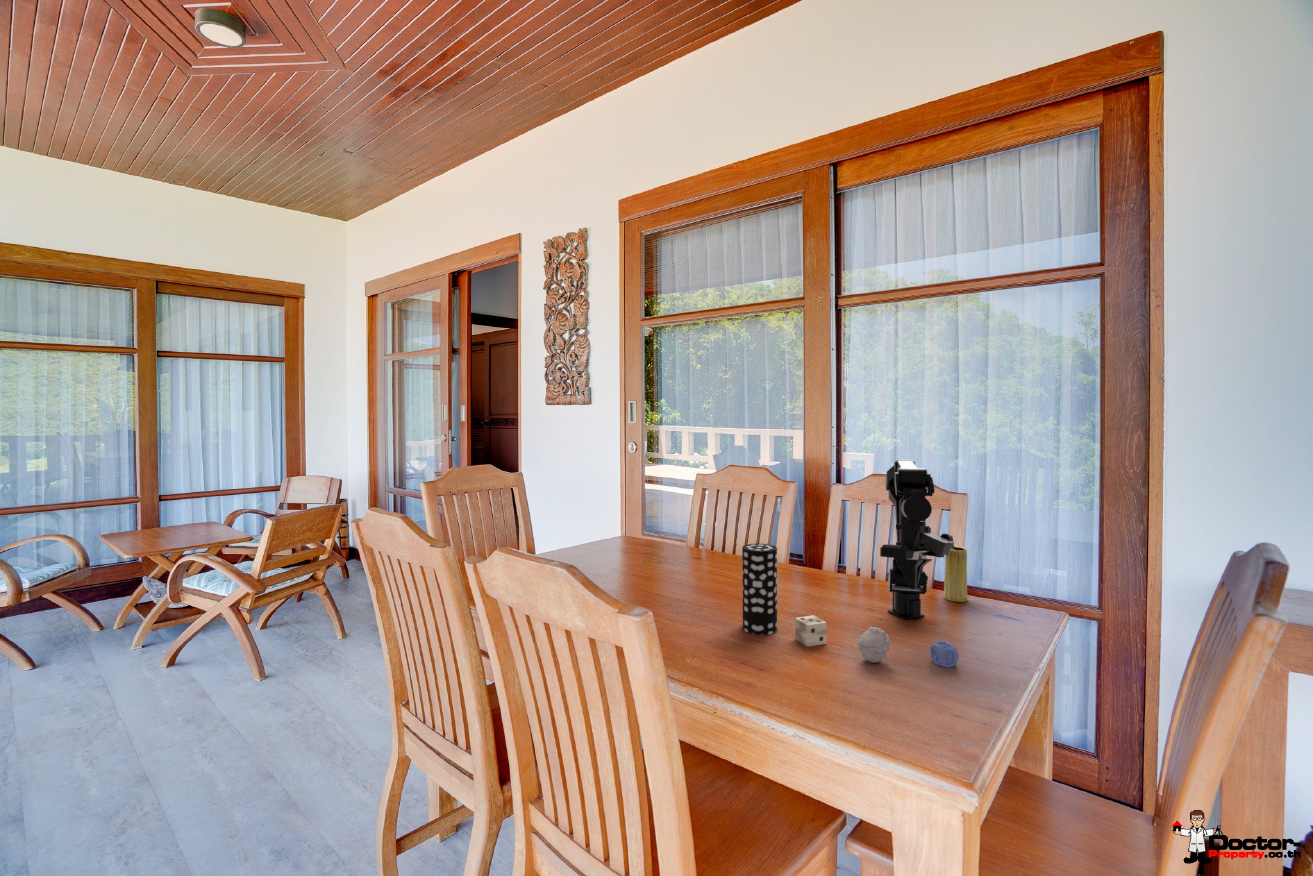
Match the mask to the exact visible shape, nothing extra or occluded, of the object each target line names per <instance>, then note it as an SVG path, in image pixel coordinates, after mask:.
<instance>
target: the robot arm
mask: <svg viewBox="0 0 1313 876" xmlns="http://www.w3.org/2000/svg"><path fill="white" fill-rule="evenodd" d="M933 479H934V478H933V477H932V476H931V473H930V472H928V469H926V468H925V467H924V468H923V467H922V468H921V467H917V466H916V461H915V460H912V459H897V460H894V463H893V466H892V467H890V468H888V469H887V470H886V476H885V491H888V493H887V494H888V500H889V501H890V502H891V503H892V504H893V506H894V510H895V511H894V513H895V531H896V533H895V535H896V542H895V544H882V546H881V547H880V548H879V557H881V558H893V559H892V561H891V567H890V568H888V576H887V577H888V578H887V584H888V586H887V587H888V591H889V592H890V593H892V608H889V609H887V612H888V613H890V614H891V615H894V616H897V617H898V618H901V619H903V620H910V619H917V618H923V617H925V613H922V611H921V606H922V603H921V595H925V594H926V593H927V592H928V589H927V588H928V581H929V576H928V575H927V573H926V571H925V570H924V567H925V566H926V565H928V564H929V563H930V562H932V561H933V559H932V558H927V557H936V558H945V555H947V556H948V555H949V553H950V550H951V549H953V548H954V546H955V545H954V544H955V541H954V538H953V535H951V534H949V533H942V534H941V535H938V534H934V533H932V528H931V527H930V526H929V525H927V519H928V518H929V517H930V516H931V514H932V509H933V508H932V504H931V503H930V501H929V500H928V499H927V498H926V497H933V495H934V494H935V485H934V480H933Z"/></svg>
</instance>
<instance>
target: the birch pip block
mask: <svg viewBox="0 0 1313 876" xmlns="http://www.w3.org/2000/svg"><path fill="white" fill-rule="evenodd" d="M794 619H795V620H794V621H795V622H794V630H795V631H794V632H795V633H794V635H795V636H794V638H795V640H796V641H798V642H800V643H801V644H802V645H804V646H805V647H807V648H808V647H809V648H810V647H815V646H820V645H826V644H827V621H824V620H823V619H821V618H819V617H818V616H816V615H814V614H813V615H812V614H811V615H806V616H805V615H804V616H800V617H795V618H794Z"/></svg>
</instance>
